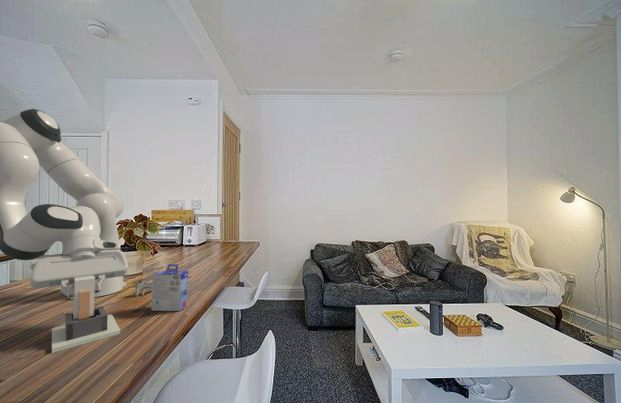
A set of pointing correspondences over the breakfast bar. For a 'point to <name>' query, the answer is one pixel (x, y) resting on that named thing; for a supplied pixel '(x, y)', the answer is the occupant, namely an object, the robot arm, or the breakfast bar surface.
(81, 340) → the socket
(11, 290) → the breakfast bar surface
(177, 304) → the ink cartridge box
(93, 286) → the cream square peg
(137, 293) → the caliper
